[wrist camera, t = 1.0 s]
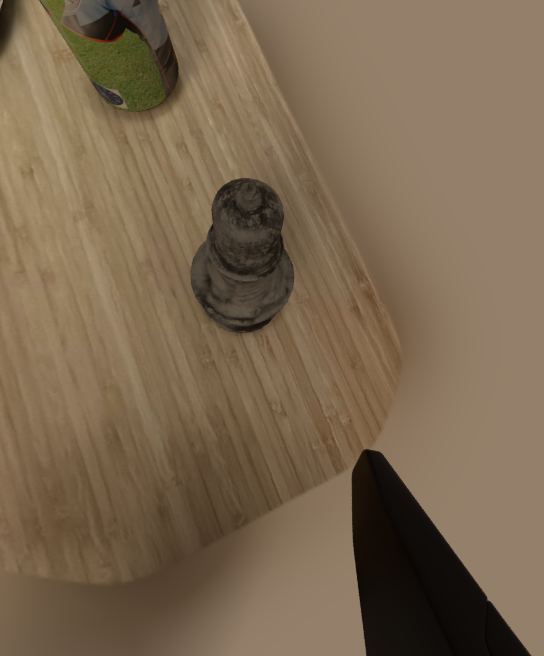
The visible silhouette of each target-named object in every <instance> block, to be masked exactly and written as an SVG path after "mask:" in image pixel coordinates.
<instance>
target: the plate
mask: <svg viewBox="0 0 544 656" xmlns="http://www.w3.org/2000/svg"><path fill="white" fill-rule="evenodd" d="M3 6H4V0H0V15H1V12H2V9H3Z"/></svg>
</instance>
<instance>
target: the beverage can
mask: <svg viewBox="0 0 544 656" xmlns="http://www.w3.org/2000/svg"><path fill="white" fill-rule="evenodd" d="M39 1H40V2H41V4H42V5H43V7H44V9H45V10H46V12H47V13H48V15H49V16H50V18H51V20H52V21H53V23H54V24H55V26H56V27H57V29H58V30H59V32H60V34H61V35H62V37H63V38H64V40H65V41H66V43H67V45H68V46H69V48H70V49H71V51H72V52H73V54H74V55H75V57H76V59H77V60H78V62H79V63H80V65H81V66H82V68H83V69H84V71H85V73H86V74H87V76H88V77H89V79H90V80H91V82H92V84H93V85H94V87H95V88H96V90H97V91H98V93H99V94H100V96H101V97H102V98H103V99H104V100H105V101H106V102H107V103H108V104H110V105H111V106H113V107H115V108H117V109H120V110H124V111H131V112H134V111H143V110H147V109H150V108H153V107H155V106H157V105H158V104H160V103H161V102H163V101H164V100H165V99H166V98H167V97H168V96H169V95H170V94H171V92H172V91H173V89H174V87H175V85H176V82H177V78H178V62H177V59H176V55H175V52H174V49H173V46H172V43H171V40H170V37H169V34H168V31H167V28H166V25H165V22H164V19H163V15H162V12H161V9H160V6H159V3H158V0H39Z"/></svg>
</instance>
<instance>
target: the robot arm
mask: <svg viewBox="0 0 544 656" xmlns="http://www.w3.org/2000/svg"><path fill="white" fill-rule="evenodd" d="M352 528H353V530H352V531H353V547H354V556H355V564H356V573H357V581H358V589H359V597H360V606H361V614H362V622H363V630H364V639H365V646H366V655H367V656H531V655H530V653H529V652H528V651H527V649H526V648H525V647H524V646H523V644H522V643H521V642H520V640H519V639H518V638H517V636H516V635H515V634H514V632H513V631H512V630H511V628H510V627H509V626H508V624H507V623H506V622H505V620H504V619H503V618H502V616H501V615H500V614H499V612H498V611H497V610H496V608H495V607H494V605H493V604H492V603H491V602H490V601H487V596H486V595H485V593H484V592H483V591H482V589H481V588H480V587H479V585H478V584H477V582H476V581H475V580H474V578H473V577H472V576H471V574H470V573H469V571H468V570H467V569H466V567H465V566H464V565H463V563H462V562H461V561H460V559H459V558H458V556H457V555H456V554H455V553H454V551H453V550H452V548H451V547H450V546H449V544H448V543H447V541H446V540H445V539H444V537H443V536H442V535H441V533H440V532H439V530H438V529H437V528H436V526H435V525H434V524H433V522H432V521H431V520H430V518H429V517H428V515H427V514H426V513H425V511H424V510H423V509H422V507H421V506H420V505H419V503H418V502H417V500H416V499H415V498H414V496H413V495H412V494H411V492H410V491H409V489H408V488H407V487H406V485H405V484H404V483H403V481H402V480H401V479H400V477H399V476H398V474H397V473H396V472H395V471H394V469H393V468H392V466H391V465H390V464H389V462H388V461H387V460H386V458H385V457H384V455H383V454H382V453H381V452H379V451H374V450H369V449H365V450H363V452H362V453H361V455H360V457H359V459H358V461H357V463H356V465H355V467H354V469H353V472H352Z"/></svg>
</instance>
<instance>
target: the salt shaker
mask: <svg viewBox="0 0 544 656" xmlns="http://www.w3.org/2000/svg"><path fill="white" fill-rule="evenodd" d="M283 219H284V214H283V207H282V203H281V201H280V198H279V196H278V195H277V194H276V192H275V191H274V190H273V189H272V188H271V187H269V186H268V185H267V184H265V183H263V182H261V181H259V180H255V179H250V178H240V179H236V180H232V181H230V182H228V183H227V184H225V185H224V186H223V187H222V188H221V189H220V190H219V191H218V192H217V194H216V196H215V198H214V201H213V205H212V220H213V224H212V226H211V228H210V230H209V232H208V236H207V240H206V241H205V242H204V243H203V244H202V245H201V246H200V247H199V249H198V251H197V253H196V254H195V256H194V258H193V262H192V266H191V271H190V274H191V285H192V288H193V291H194V294H195V296H196V298H197V300H198V301H199V303H200V304H201V305H202V307H203V308H204V310H205V312H206V313H207V315H208V316H209V318H210V319H211V320H212V321H213V322H214V323H216V324H217V325H218V326H219V327H221V328H223V329H226V330H228V331H231V332H237V333H246V332H252V331H255V330H258V329H260V328H262V327H263V326H265V325H266V324H268V323H269V322H270V321H271V320H272V318H273V317H274V316H275V315H276V314H277V313H278V312H279V311H280V310H281V309H282V307H283V306H284V305H285V304H286V303H287V301H288V299H289V297H290V294H291V292H292V290H293V283H294V272H293V265H292V262H291V260H290V258H289V255H288V253H287V252H286V250H285V249H284V245H283V238H282V236H281V229H282V226H283Z"/></svg>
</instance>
